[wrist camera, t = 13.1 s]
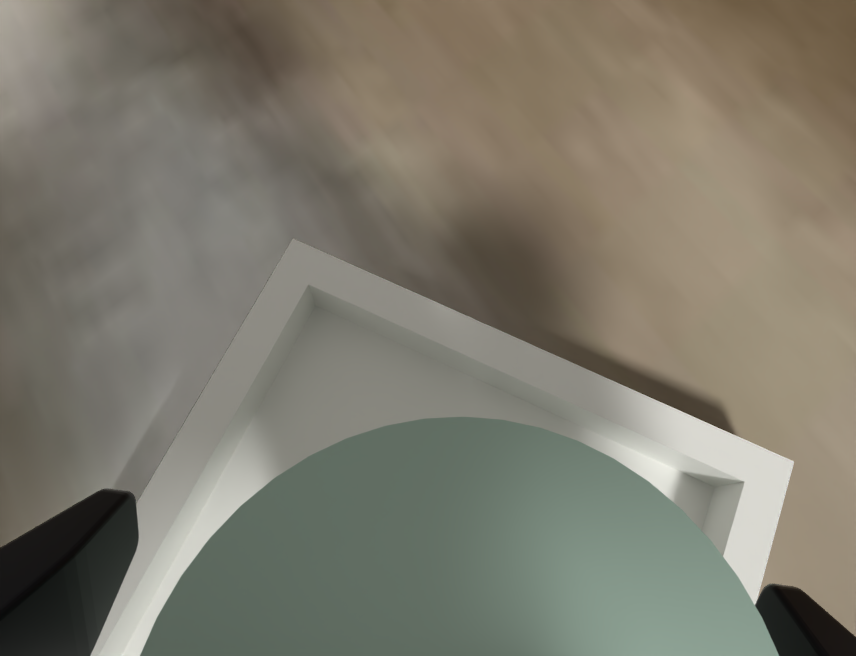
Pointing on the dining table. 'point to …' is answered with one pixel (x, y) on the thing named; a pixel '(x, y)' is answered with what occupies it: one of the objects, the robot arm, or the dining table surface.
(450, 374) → the tray
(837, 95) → the dining table surface
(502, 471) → the grey-green post
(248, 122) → the dining table surface
